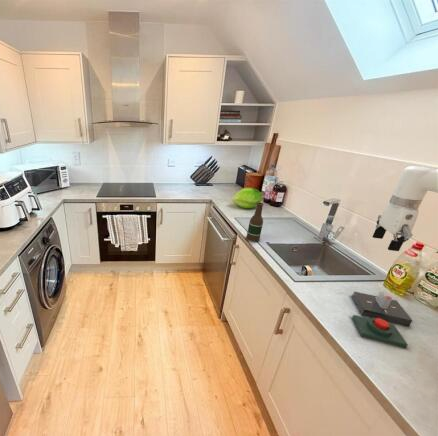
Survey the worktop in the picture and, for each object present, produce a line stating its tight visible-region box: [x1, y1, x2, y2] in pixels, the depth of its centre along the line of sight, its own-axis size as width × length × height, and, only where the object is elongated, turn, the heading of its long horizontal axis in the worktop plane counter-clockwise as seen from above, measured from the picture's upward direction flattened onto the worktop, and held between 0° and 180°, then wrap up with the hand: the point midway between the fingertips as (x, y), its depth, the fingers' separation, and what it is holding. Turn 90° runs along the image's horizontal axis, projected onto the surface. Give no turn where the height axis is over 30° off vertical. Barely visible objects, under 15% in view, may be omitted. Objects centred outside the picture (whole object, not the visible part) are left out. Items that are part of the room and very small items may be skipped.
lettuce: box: [230, 187, 263, 209], centre depth 195 cm, size 19×25×17 cm
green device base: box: [351, 314, 409, 349], centre depth 83 cm, size 12×9×4 cm
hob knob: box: [376, 290, 393, 309], centre depth 91 cm, size 5×2×5 cm, turn 158°
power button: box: [374, 318, 390, 330], centre depth 82 cm, size 4×4×2 cm
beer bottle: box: [246, 202, 264, 243], centre depth 143 cm, size 8×8×24 cm
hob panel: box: [351, 291, 413, 327], centre depth 93 cm, size 14×11×3 cm
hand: (384, 243), depth 90 cm, fingers open, 9 cm apart
